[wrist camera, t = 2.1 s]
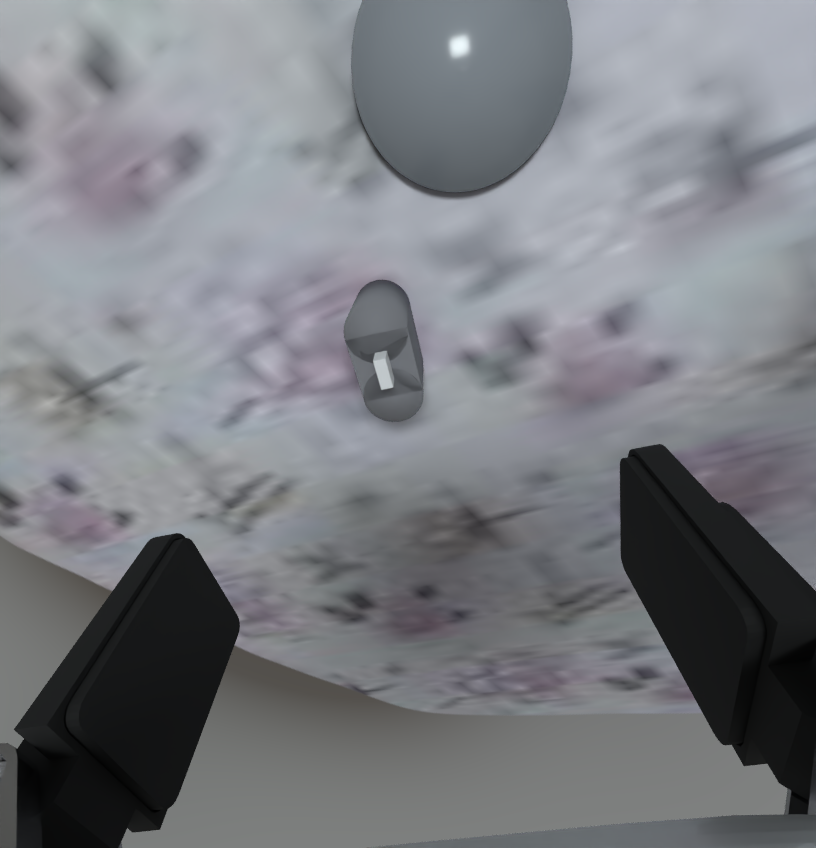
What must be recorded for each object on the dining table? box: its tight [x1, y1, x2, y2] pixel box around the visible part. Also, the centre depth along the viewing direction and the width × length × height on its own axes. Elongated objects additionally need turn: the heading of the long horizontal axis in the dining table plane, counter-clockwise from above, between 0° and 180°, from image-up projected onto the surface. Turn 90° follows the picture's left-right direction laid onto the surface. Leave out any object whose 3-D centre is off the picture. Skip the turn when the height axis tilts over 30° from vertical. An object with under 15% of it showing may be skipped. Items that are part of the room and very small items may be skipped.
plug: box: [344, 280, 423, 422], centre depth 28 cm, size 8×4×6 cm, turn 13°
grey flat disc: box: [351, 0, 572, 192], centre depth 23 cm, size 11×11×1 cm
